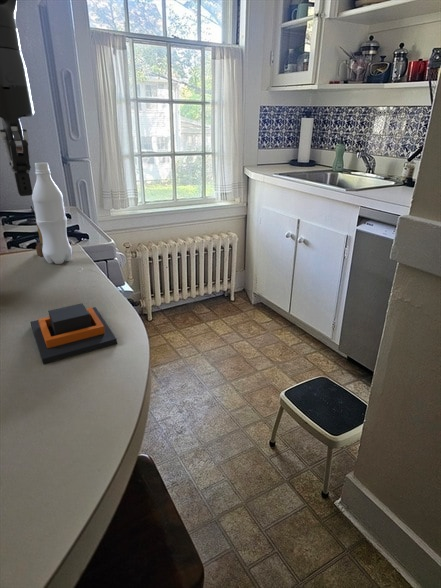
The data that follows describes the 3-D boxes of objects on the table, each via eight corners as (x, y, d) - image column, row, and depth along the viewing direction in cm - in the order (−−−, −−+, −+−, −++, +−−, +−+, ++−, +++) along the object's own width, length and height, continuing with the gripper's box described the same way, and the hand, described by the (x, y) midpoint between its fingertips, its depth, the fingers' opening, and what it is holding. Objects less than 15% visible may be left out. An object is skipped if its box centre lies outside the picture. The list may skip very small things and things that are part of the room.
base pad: (43, 364, 62) (40, 351, 61) (31, 326, 73) (28, 314, 72) (117, 343, 68) (115, 331, 67) (96, 311, 78) (94, 300, 77)
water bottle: (56, 267, 100) (37, 165, 89) (38, 262, 103) (18, 163, 93) (79, 259, 106) (63, 162, 95) (61, 254, 109) (44, 160, 98)
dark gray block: (56, 340, 67) (53, 322, 65) (51, 327, 70) (48, 310, 69) (92, 331, 69) (89, 314, 68) (85, 319, 73) (82, 302, 72)
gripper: (-26, 84, 65) (-1, 191, 72) (-24, 80, 55) (5, 204, 62) (24, 86, 68) (42, 187, 76) (34, 82, 58) (55, 199, 66)
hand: (25, 194), depth 69 cm, fingers closed
